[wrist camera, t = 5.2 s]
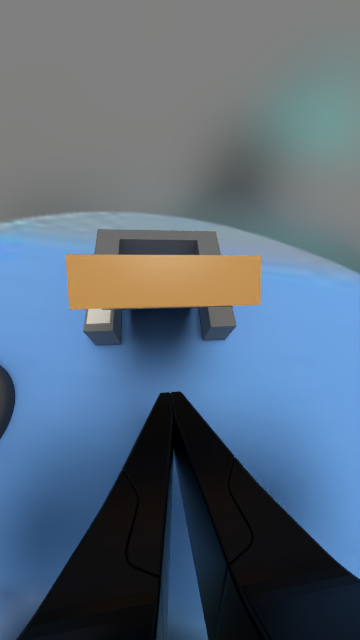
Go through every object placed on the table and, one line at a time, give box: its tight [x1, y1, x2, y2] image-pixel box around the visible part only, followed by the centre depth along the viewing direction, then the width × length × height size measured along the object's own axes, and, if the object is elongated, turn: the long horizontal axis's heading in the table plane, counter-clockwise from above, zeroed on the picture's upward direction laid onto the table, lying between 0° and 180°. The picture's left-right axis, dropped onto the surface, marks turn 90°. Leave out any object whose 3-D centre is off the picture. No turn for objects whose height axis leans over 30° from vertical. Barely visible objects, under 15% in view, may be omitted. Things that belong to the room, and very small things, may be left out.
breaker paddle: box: [66, 254, 261, 310], centre depth 12 cm, size 2×6×11 cm, turn 95°
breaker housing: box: [83, 229, 236, 345], centre depth 18 cm, size 10×11×3 cm
